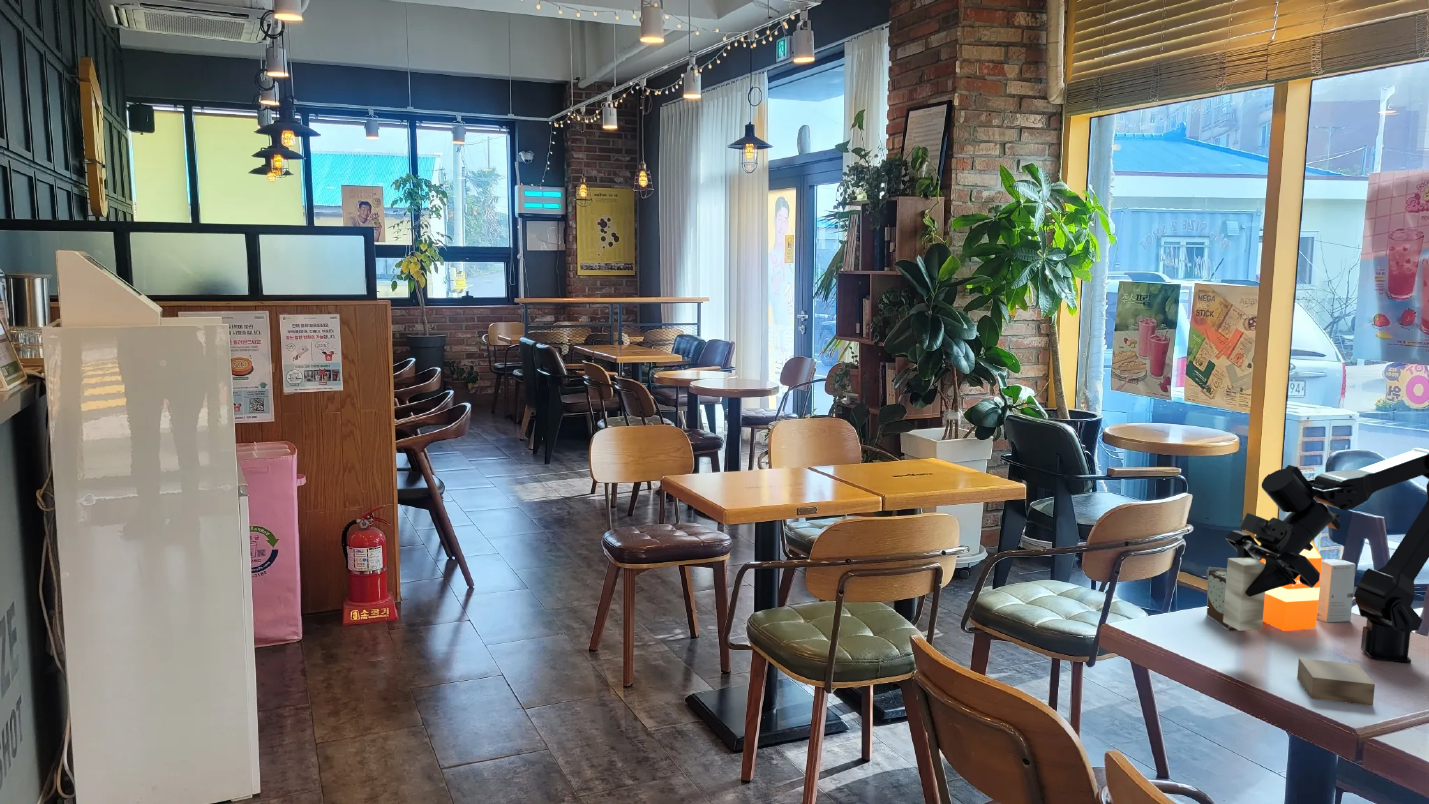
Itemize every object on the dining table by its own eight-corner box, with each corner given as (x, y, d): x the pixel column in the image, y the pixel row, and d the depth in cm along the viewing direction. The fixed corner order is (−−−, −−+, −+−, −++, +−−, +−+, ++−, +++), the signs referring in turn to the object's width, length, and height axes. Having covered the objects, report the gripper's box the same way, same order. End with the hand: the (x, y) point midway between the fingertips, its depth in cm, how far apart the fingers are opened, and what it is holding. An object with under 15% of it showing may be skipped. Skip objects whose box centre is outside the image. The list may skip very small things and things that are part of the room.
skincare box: (1327, 623, 204) (1332, 565, 203) (1309, 615, 208) (1314, 559, 207) (1352, 621, 205) (1357, 563, 204) (1334, 614, 210) (1339, 557, 208)
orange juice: (1283, 631, 199) (1291, 533, 197) (1250, 616, 208) (1258, 522, 205) (1316, 628, 201) (1325, 531, 198) (1283, 614, 209) (1291, 520, 207)
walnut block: (1355, 686, 173) (1357, 664, 173) (1372, 707, 165) (1374, 684, 164) (1296, 679, 176) (1298, 658, 175) (1310, 700, 167) (1312, 677, 167)
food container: (1263, 634, 197) (1268, 585, 196) (1232, 633, 197) (1236, 584, 196) (1233, 613, 210) (1236, 566, 208) (1203, 612, 210) (1207, 566, 208)
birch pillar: (1245, 620, 184) (1250, 557, 183) (1262, 629, 180) (1267, 564, 178) (1223, 621, 184) (1227, 558, 182) (1239, 630, 179) (1244, 565, 178)
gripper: (1238, 487, 188) (1180, 546, 188) (1310, 511, 170) (1246, 576, 170) (1273, 527, 191) (1215, 585, 190) (1348, 554, 172) (1284, 619, 172)
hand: (1238, 590), depth 181 cm, fingers closed on birch pillar, 4 cm apart
